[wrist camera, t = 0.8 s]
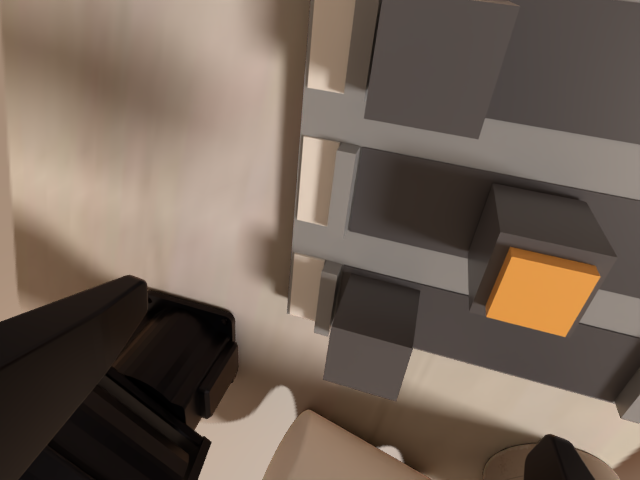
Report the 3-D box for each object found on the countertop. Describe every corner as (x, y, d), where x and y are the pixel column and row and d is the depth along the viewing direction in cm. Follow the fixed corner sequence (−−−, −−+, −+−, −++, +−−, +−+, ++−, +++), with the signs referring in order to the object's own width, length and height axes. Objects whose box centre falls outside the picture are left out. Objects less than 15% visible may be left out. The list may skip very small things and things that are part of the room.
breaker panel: (293, 300, 25) (258, 367, 21) (322, -40, 16) (270, -47, 12) (663, 399, 22) (713, 505, 17) (976, 36, 12) (1253, 67, 8)
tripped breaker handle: (467, 254, 19) (469, 323, 15) (492, 183, 17) (502, 241, 13) (550, 273, 18) (573, 349, 14) (586, 201, 16) (623, 268, 13)
